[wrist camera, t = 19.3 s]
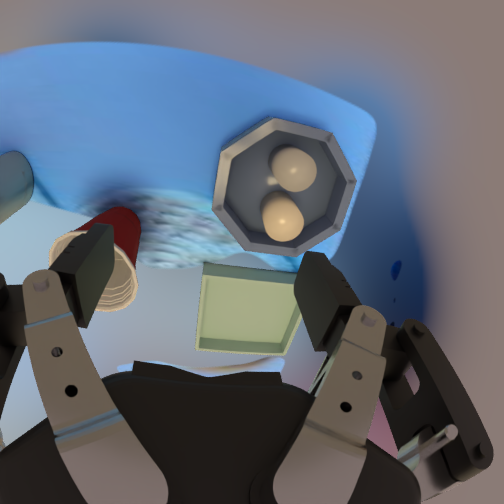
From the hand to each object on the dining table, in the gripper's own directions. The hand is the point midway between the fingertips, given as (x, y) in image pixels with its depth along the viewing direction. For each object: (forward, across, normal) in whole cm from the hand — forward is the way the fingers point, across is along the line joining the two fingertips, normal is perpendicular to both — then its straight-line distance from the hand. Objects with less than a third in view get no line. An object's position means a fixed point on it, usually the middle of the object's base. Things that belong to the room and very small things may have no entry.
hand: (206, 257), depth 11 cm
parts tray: (+24, -9, +23) cm, 34 cm away
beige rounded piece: (+22, -8, -1) cm, 24 cm away
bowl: (+23, -9, +2) cm, 25 cm away
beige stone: (+23, -9, +5) cm, 25 cm away
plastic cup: (+24, +11, +11) cm, 29 cm away
